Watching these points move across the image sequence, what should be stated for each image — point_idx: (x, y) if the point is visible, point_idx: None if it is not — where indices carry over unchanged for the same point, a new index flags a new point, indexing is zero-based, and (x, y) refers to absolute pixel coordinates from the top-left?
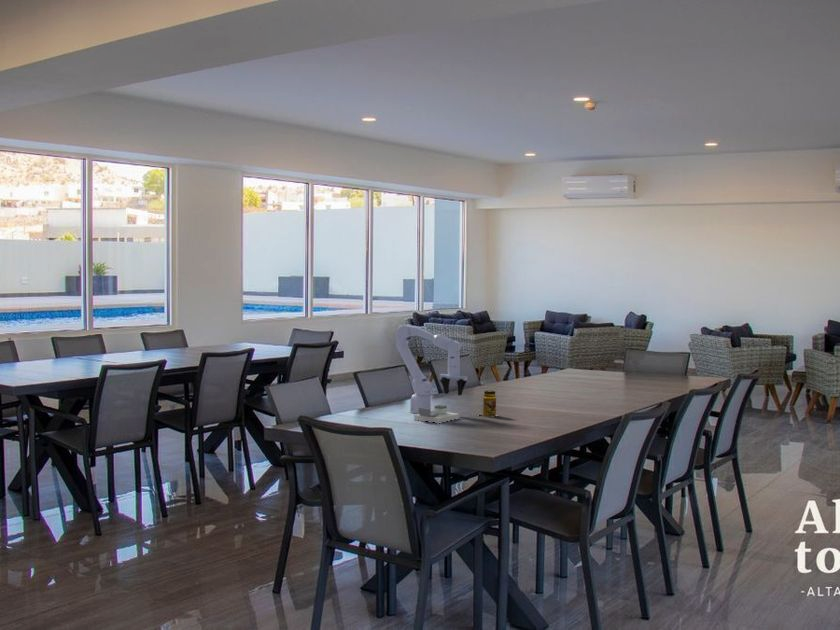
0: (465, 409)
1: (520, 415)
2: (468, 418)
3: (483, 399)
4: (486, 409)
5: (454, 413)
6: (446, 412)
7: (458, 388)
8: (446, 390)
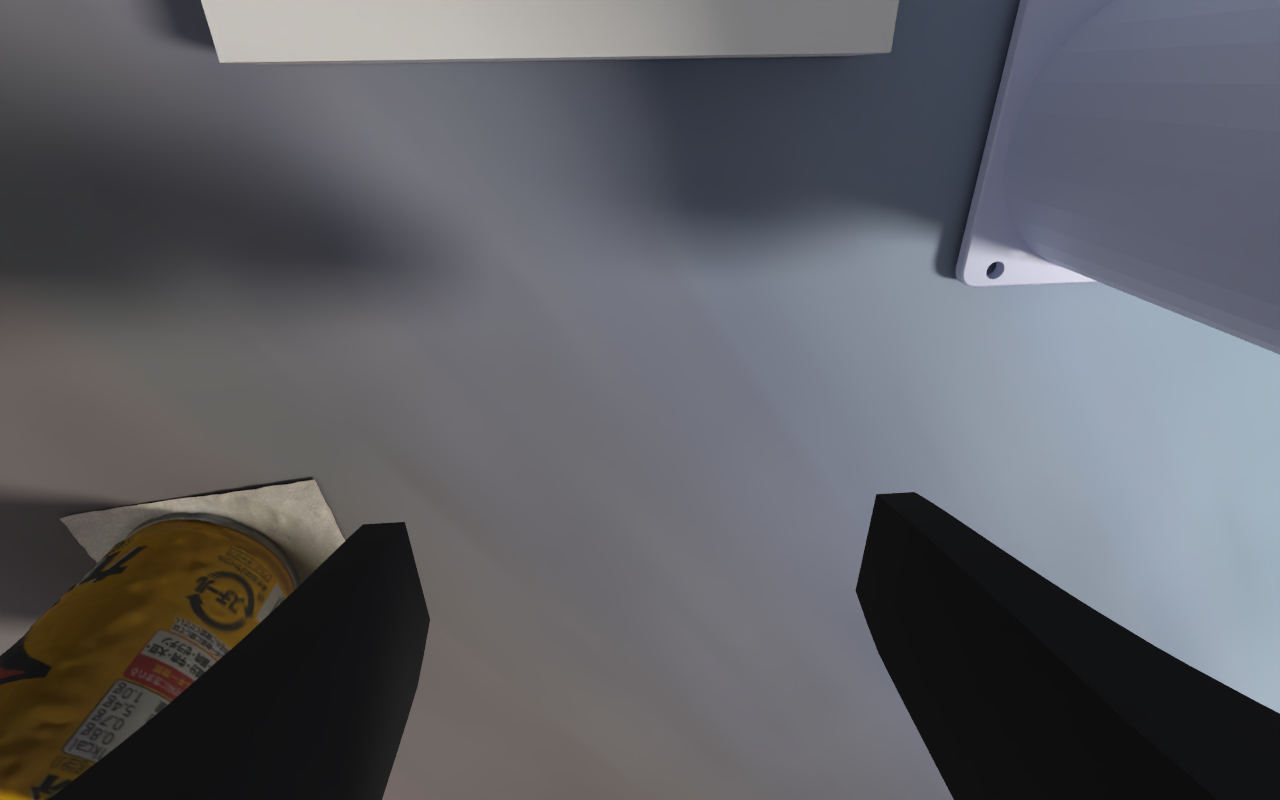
0: (730, 693)
1: None
2: (211, 233)
3: (90, 760)
4: (103, 591)
5: (305, 11)
6: (529, 1)
7: (231, 715)
8: (925, 595)
